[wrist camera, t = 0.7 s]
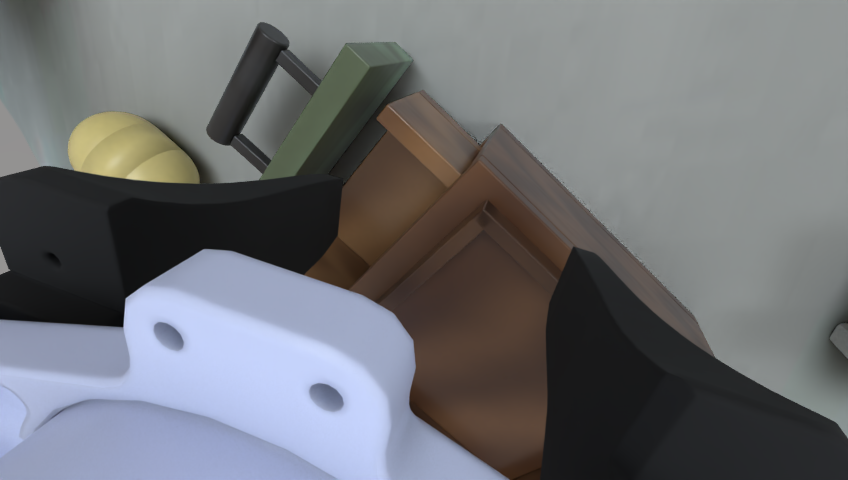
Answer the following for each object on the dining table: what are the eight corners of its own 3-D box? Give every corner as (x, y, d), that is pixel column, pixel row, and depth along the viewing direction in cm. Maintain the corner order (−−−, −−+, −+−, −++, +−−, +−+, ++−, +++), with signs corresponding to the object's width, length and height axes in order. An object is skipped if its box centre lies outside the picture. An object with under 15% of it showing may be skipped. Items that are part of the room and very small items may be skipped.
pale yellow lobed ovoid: (201, 219, 28) (138, 251, 24) (117, 146, 27) (36, 166, 23) (229, 169, 26) (164, 196, 21) (138, 87, 25) (51, 98, 21)
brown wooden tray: (505, 492, 21) (502, 511, 20) (331, 341, 20) (321, 355, 19) (707, 411, 16) (716, 433, 15) (487, 198, 15) (482, 208, 14)
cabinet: (361, 266, 26) (304, 333, 20) (501, 123, 20) (478, 159, 14) (519, 408, 28) (510, 510, 22) (694, 316, 21) (748, 423, 16)
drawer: (229, 149, 24) (155, 174, 20) (326, -27, 18) (254, -47, 14) (445, 343, 26) (423, 407, 21) (592, 237, 20) (604, 293, 16)
